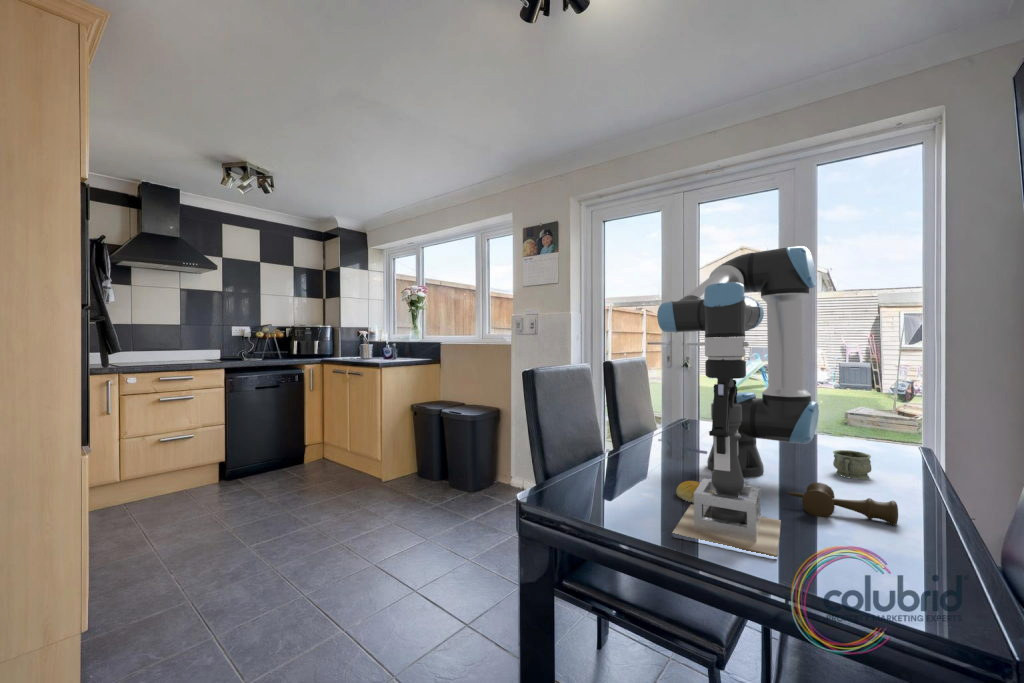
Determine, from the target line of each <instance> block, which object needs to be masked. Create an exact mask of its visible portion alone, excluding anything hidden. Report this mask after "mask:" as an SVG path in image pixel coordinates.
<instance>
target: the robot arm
mask: <svg viewBox="0 0 1024 683" xmlns="http://www.w3.org/2000/svg"><path fill="white" fill-rule="evenodd" d="M816 286H817V271H816V266H815V262H814V259H813V256H812V253H811V251H810V249H808V248H807V247H806V246H803V245H802V246H790V247H788V246H786V247H782V248H776V249H774V248H773V249H769V250H764V251H763V250H762V251H761V250H760V251H757V252H755V251H754V252H748V253H743V254H741V255H739V256H738V255H737V256H736V257H733V258H731V259H729V260H727V261H725V262H723V263H722V264H720V265H719V266H716V268H714V269H713V270H712V271H711V273H710V274H709V277H708V278H706V280H704V281H703V282H702V283H700V284H699V285H698V286H696V287H695V288H694V289H693V290H691V291H689V293H686V294H685V295H684V296H683V297H682V298H680V299H679V300H675V301H672V300H670V301H667V302H666V301H665V302H663V303H661V304H660V305H659V306H658V309H657V312H656V313H657V314H656V315H657V316H656V320H657V324H658V327H659V328H660V330H662V331H663V332H666V333H675V334H677V333H688V332H689V333H691V332H692V333H693V332H694V333H695V332H704V356H705V357H706V358H707V359H706V360H705V365H704V366H705V369H704V370H705V376H706V377H707V378H709V379H717V380H716V381H717V382H716V383H715V384H713V400H712V403H714V404H713V420H712V422H711V424H712V425H711V430H709V431H708V433H709V434H708V435H709V436H710V437H712V438H713V439H712V440H713V441H712V442H713V443H712V444H711V448H710V451H709V454H708V458H707V462H706V463H707V469H708V470H709V471H710V472H712V471H713V467H714V469H715V470H723V471H730V437H729V433H728V431H729V419H730V409H731V408H732V407H733V404H734V403H735V404H741V405H742V421H741V422H740V423H741V425H740V426H739V428H738V430H737V432H738V433H739V434H740V435H741V438H740V439H738V441H737V452H738V459H739V463H740V467H741V471H742V475H743V478H754V477H760V476H762V475H764V474H763V473H764V472H765V471H764V470H765V467H764V464H763V460H762V458H761V455H760V452H759V450H758V448H757V439H761V440H767V441H768V440H770V441H778V442H784V443H788V444H805V445H806V444H809V443H810V442H812V440H813V438H814V436H815V433H816V430H817V426H818V423H819V422H818V421H819V412H820V410H819V403H818V402H816V401H815V400H812V394H811V393H810V392H809V391H808V390H807V389H805V366H804V365H805V364H804V361H805V359H804V355H805V354H804V301H805V300H806V299H807V298H808V297H809V296H810V289H813V288H815V287H816ZM748 293H749V294H750V293H760V299H761V300H763V301H764V302H765V303H766V317H767V318H766V325H767V326H766V329H767V330H766V332H767V383H768V384H767V385H768V386H767V387H766V389H765V390H763V391H762V393H761V394H762V396H761V397H757V395H756V393H755V392H748V391H747V392H738V386H737V380H736V379H745V377H746V376H747V365H746V364H747V362H746V361H745V359H743V358H744V357H745V356H746V348H747V347H749V345H750V344H749V342H748V341H746V332H747V331H750V330H753V329H755V328H757V327H758V326H759V325H760V324H761V323H762V321H763V319H764V314H765V313H764V308H763V305H762V304H761V303H760V302H759V301H758V300H756V299H755V298H752V297H751V296H748V295H747V294H748ZM746 295H747V296H746Z"/></svg>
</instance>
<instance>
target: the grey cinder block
mask: <svg viewBox="0 0 1024 683" xmlns="http://www.w3.org/2000/svg"><path fill="white" fill-rule="evenodd" d="M699 483H700V484H699V486H698V487H697V489H696V490H695V492H694V503H693V505H694V530H696V531H701V532H706V533H711V534H716V535H720V536H725V537H730V538H735V539H740V540H745V541H750V542H755V543H756V542H757V538H758V533H759V528H760V523H761V517H762V516H761V515H762V514H761V486H758V485H752V484H745V483H744V487H743V489H742V490H741V491H740V492H739V494H740V495H739V496H741V497H738V498H737V497H731V496H725V495H718V494H717V493H714V494H712V493H711V491H713V492H716V489H715V488H714V486H713V484H712V481H711V478H710V479H709V478H703V479H702V480H701V481H700V482H699ZM743 496H744V497H747V498H743ZM712 506H715V507H721V508H726V509H732V510H738V511H744V512H745V522H746V523H747V525H745V524H740V523H734V522H729V521H724V520H718V519H713V518H709V517H710V516H711V507H712Z"/></svg>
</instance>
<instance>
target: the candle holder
mask: <svg viewBox="0 0 1024 683" xmlns="http://www.w3.org/2000/svg"><path fill="white" fill-rule="evenodd" d="M713 404H714V403H713V402H712V403H711V405H710V408H711V414H710V416H711V418H710V419H711V420H712V421H713ZM741 421H742V405H741V404H735V403H734V404H733V407H732V408H731V409H730V419H729V431H728V433H729V437H730V471H723V470H715V469H714V467H713V471H711V476H710V480H711V481H712V484H713V486H714V488H715V489H716V491H715V494H718V495H725V496H731V497H737V498H739V496H741V495H740V494H739V492H740V491H741V490H742V489H743V487H744V484H745V479H744V478H745V477H743V475H742V471H741V467H740V463H739V459H738V452H737V441H738V439H740V438H741V435H740V434H739V433H738V432H737V430H738V428H739V426H740V425H741V423H740V422H741ZM711 518H713V519H718V520H724V521H729V522H734V523H740V524H745V512H744V511H738V510H732V509H726V508H721V507H715V506H712V507H711Z"/></svg>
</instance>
